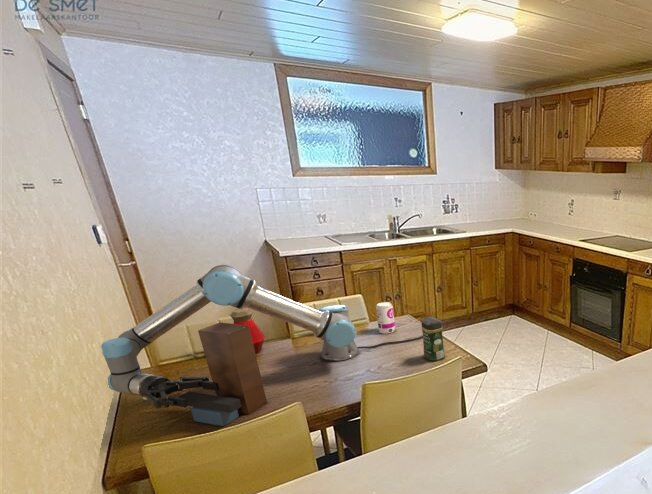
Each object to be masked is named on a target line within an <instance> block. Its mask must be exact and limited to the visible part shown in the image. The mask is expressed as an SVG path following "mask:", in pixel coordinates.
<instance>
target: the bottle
mask: <svg viewBox="0 0 652 494" xmlns="http://www.w3.org/2000/svg"><path fill="white" fill-rule="evenodd" d="M252 315H253V311H252V310H250V309H249V308H247V307H246V308H242V309H239V308H235V309H234V310H233V311H232V312H231V313H230V315H229V316H230V317H231V319H232V321H233V323H232V324H239V325H248V326H249V329H250V333H251V337H252V341H253V346H254V350H255V354H258V353H260V352H261V350H262V348H263V344H264V341H265V338H266V335H265V334H264V333H263V331H262V330H261V329H260V328H259V326H258V324H256V322H255V321H254V319H253V318H252Z"/></svg>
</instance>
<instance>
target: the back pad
mask: <svg viewBox="0 0 652 494" xmlns="http://www.w3.org/2000/svg"><path fill="white" fill-rule="evenodd" d="M177 398H183V399H186V402H187V405H188V407H191V408H192V407H198V408H204V409H211V410H217V411H223V412H229V413H232V412H234V411H235V410H237V409H239V408H240V407H242V406H241V402H240V399H236V398H230V397H223V396H217V395H216V394H210V393H204V392H197V391H190V390H189V391H187V392H184V393H183V394H181V395H178V396H177Z"/></svg>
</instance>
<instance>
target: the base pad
mask: <svg viewBox="0 0 652 494" xmlns="http://www.w3.org/2000/svg"><path fill="white" fill-rule="evenodd" d="M190 411H191V415H192V417H193V421H194V422H198V423H202V424H203V423H204V424H207V425H208V424H209V425H215V426H221V427H224V426H226V425H228V424H230V423H231V422H233V421H235V420H236V419H237V418H239V417H240V415H239V414H240V413H238V410H235V411H234V412H232V413H229V412H223V411H217V410H211V409H204V408H198V407H192V406H191V407H190Z"/></svg>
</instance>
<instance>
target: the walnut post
mask: <svg viewBox="0 0 652 494" xmlns="http://www.w3.org/2000/svg"><path fill="white" fill-rule="evenodd" d="M197 332H198V336H199V339H200V342H201V346H202V350H203V353H204V356H205V360H206V363H207V367H208V370H209V375H210V378H211V382H214V383H218V386H219V389H220V390H219V391H214V392H215V395H217V396H223V397H230V398H236V399H240V402H241V406H242V407H240V408H239V409H237V410H238V414H245V415H250V414H251V413H253V412H255V411H257V410H258V409H259V408H261V407H263V406H265V405H266V404H267V403H268V402H267V397H266V392H265V388H264V384H263V379H262V376H261V372H260V368H259V363H258V359H257V355H256V354H257V353H255V350H254V346H253V341H252V337H251V333H250V329H249V326H248V325H239V324H233V323H229V322H217V323H214V324H212V325H209V326H207V327H204V328H201V329H198V330H197Z"/></svg>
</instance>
